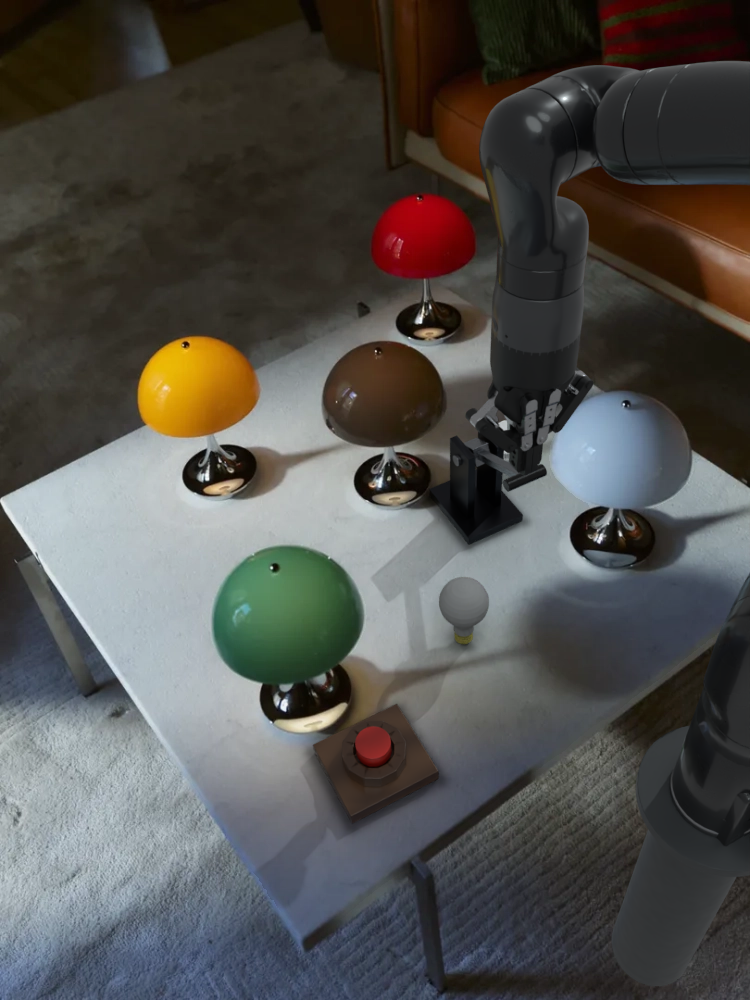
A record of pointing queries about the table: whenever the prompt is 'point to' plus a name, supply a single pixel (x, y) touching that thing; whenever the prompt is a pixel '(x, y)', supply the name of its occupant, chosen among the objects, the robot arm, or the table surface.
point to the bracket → (474, 494)
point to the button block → (382, 784)
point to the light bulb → (463, 606)
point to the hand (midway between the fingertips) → (524, 468)
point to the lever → (502, 465)
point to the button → (373, 746)
